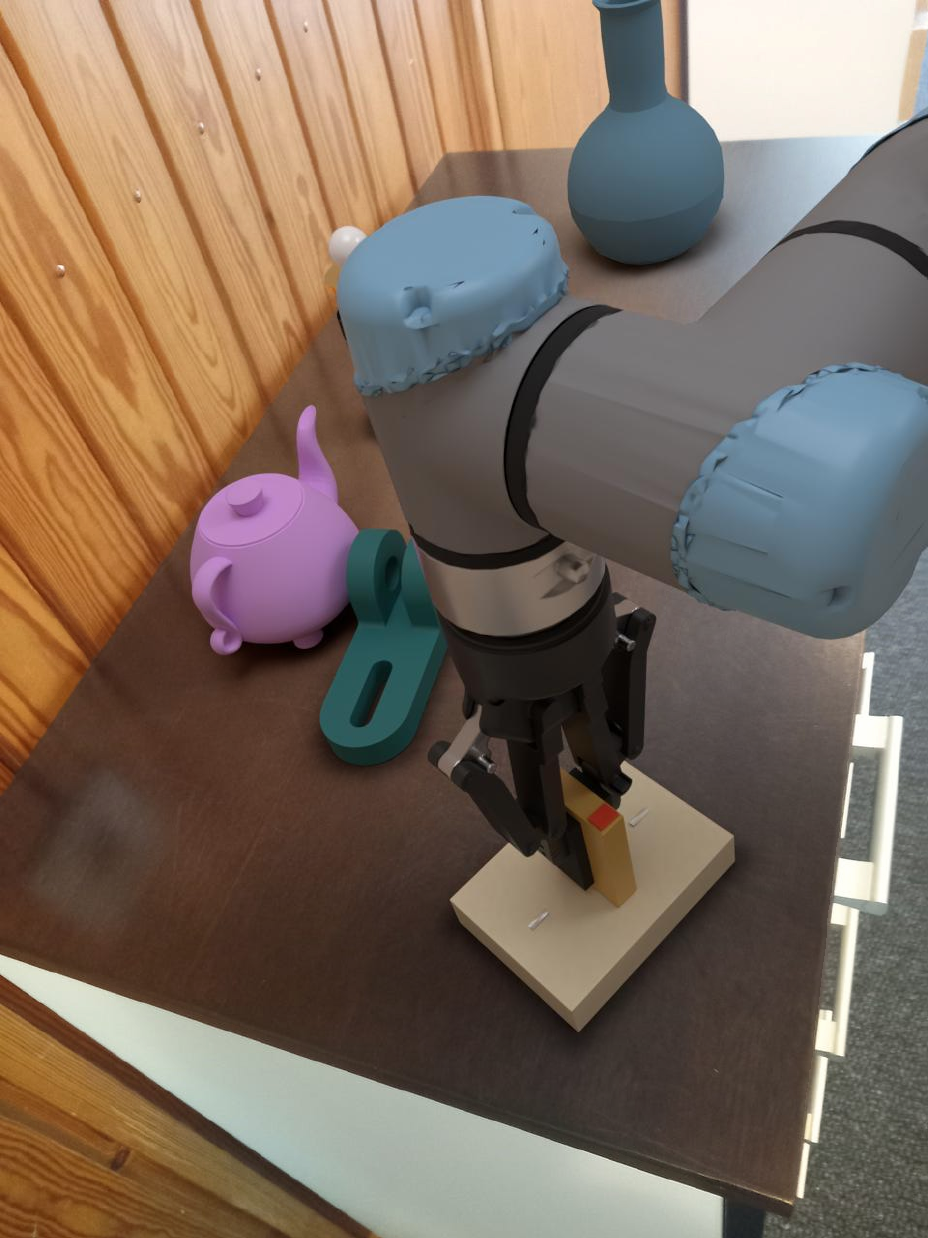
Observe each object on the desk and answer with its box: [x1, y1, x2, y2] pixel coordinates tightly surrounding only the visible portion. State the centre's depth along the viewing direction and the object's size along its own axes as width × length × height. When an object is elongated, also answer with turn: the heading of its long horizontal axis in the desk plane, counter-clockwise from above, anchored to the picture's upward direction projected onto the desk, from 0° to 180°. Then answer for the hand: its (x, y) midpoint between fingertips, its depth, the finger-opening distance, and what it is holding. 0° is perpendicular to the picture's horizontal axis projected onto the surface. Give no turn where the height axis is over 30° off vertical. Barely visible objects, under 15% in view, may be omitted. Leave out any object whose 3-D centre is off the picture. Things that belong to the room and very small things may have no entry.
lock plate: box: [449, 760, 736, 1033], centre depth 62 cm, size 14×10×3 cm
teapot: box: [189, 404, 360, 656], centre depth 82 cm, size 20×14×12 cm
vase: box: [566, 0, 725, 266], centre depth 105 cm, size 16×16×25 cm
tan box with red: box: [560, 766, 637, 908], centre depth 58 cm, size 6×2×8 cm, turn 41°
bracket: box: [319, 528, 448, 767], centre depth 76 cm, size 18×7×8 cm, turn 164°
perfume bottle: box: [323, 225, 368, 347], centre depth 94 cm, size 6×6×20 cm
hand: (587, 859), depth 60 cm, fingers closed on tan box with red, 2 cm apart
